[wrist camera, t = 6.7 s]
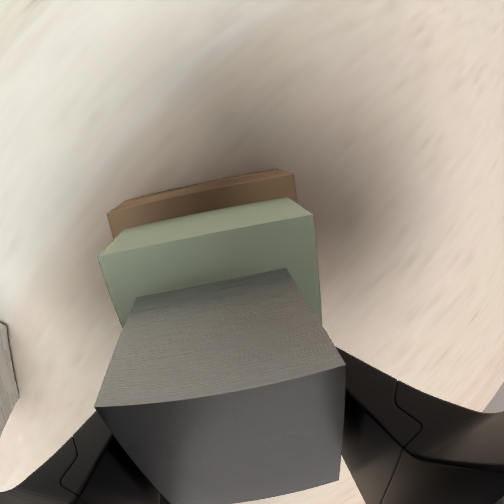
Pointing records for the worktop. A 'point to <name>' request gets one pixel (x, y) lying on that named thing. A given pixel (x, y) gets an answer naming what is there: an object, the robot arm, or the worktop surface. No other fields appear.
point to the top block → (213, 252)
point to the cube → (227, 391)
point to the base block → (202, 199)
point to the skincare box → (6, 380)
